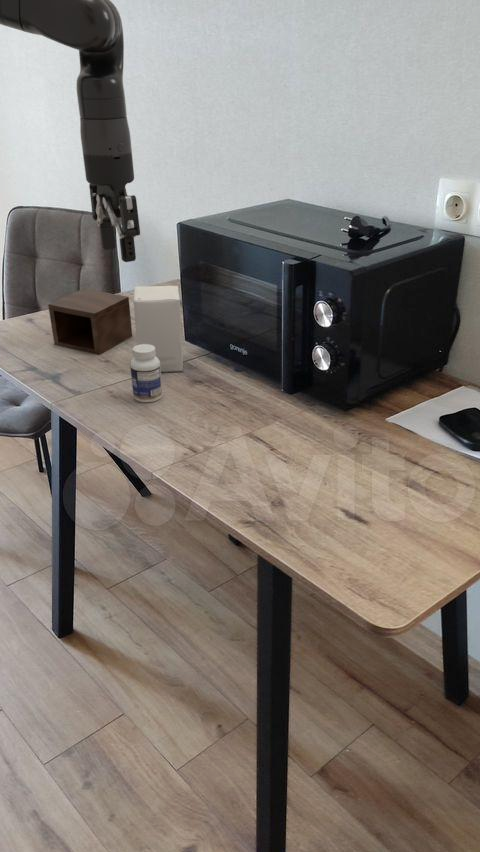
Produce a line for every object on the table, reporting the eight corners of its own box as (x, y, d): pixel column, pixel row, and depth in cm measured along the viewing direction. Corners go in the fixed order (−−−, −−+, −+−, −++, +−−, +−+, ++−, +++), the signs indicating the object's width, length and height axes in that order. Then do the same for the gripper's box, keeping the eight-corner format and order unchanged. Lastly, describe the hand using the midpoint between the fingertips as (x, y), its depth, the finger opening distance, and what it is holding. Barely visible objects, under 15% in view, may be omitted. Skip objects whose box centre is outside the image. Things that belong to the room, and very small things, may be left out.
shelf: (99, 354, 148) (94, 313, 143) (54, 344, 152) (47, 304, 147) (132, 336, 157) (128, 296, 152) (88, 326, 161) (83, 288, 156)
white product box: (184, 372, 141) (180, 299, 133) (138, 373, 140) (132, 300, 132) (182, 354, 149) (178, 284, 141) (139, 356, 148) (133, 285, 140)
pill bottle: (134, 391, 134) (129, 342, 128) (162, 390, 134) (159, 342, 129) (132, 403, 129) (127, 354, 124) (162, 402, 130) (158, 353, 125)
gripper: (68, 145, 113) (82, 248, 121) (101, 157, 103) (114, 269, 111) (112, 142, 116) (122, 242, 125) (148, 153, 106) (157, 261, 115)
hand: (118, 254), depth 118 cm, fingers open, 8 cm apart
